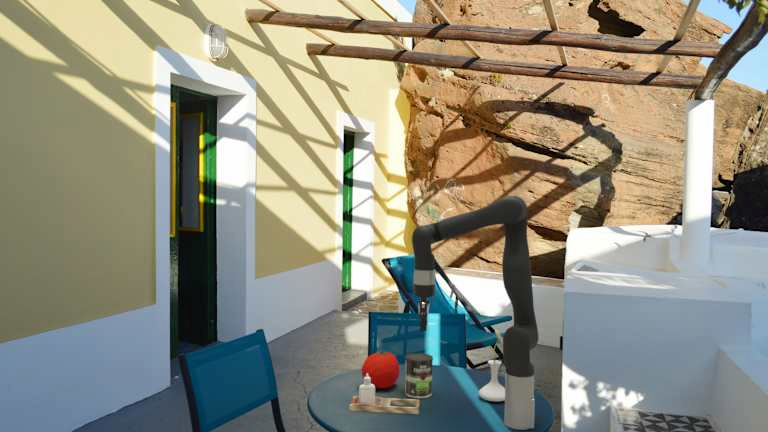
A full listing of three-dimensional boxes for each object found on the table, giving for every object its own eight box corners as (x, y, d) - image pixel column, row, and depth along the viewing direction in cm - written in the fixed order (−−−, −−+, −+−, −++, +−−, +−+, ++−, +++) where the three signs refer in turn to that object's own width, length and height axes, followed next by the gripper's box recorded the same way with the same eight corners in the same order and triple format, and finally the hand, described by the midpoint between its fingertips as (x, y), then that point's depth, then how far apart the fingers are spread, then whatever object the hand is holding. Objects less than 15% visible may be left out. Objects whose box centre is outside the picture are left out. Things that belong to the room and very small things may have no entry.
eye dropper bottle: (372, 410, 211) (373, 376, 210) (357, 408, 213) (357, 374, 212) (376, 406, 215) (376, 372, 215) (361, 404, 217) (361, 371, 216)
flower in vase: (507, 406, 216) (509, 336, 215) (475, 402, 220) (477, 333, 219) (512, 394, 229) (513, 328, 227) (481, 390, 232) (483, 325, 231)
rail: (419, 405, 216) (419, 398, 216) (418, 414, 208) (418, 407, 208) (353, 401, 219) (353, 395, 219) (349, 410, 210) (349, 404, 210)
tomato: (390, 379, 244) (391, 345, 243) (406, 390, 232) (406, 354, 231) (354, 384, 238) (355, 350, 237) (368, 396, 225) (368, 359, 224)
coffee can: (436, 397, 225) (436, 359, 224) (409, 399, 222) (410, 361, 221) (426, 388, 235) (427, 352, 234) (401, 390, 232) (401, 353, 231)
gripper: (434, 286, 205) (433, 333, 206) (435, 279, 219) (434, 323, 220) (412, 285, 206) (411, 332, 207) (414, 278, 220) (414, 323, 221)
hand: (423, 328), depth 214 cm, fingers open, 8 cm apart
